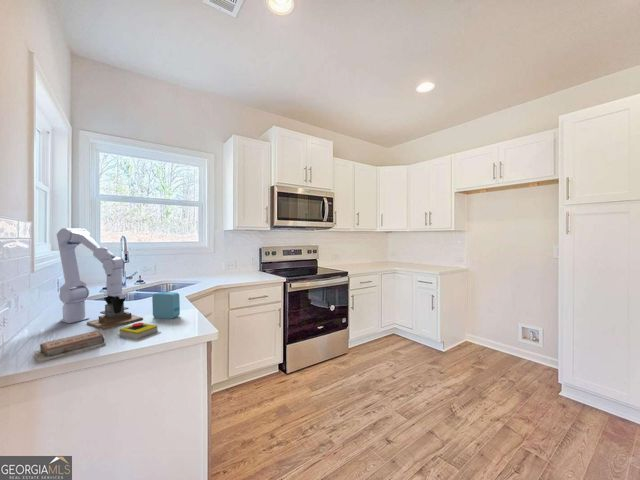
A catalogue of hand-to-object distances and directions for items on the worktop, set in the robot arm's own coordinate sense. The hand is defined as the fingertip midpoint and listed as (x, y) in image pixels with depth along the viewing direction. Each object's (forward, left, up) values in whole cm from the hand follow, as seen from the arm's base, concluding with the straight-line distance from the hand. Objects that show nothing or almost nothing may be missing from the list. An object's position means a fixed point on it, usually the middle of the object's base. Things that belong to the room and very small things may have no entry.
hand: (115, 312), depth 130 cm
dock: (0, 0, -5) cm, 5 cm away
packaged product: (+21, -23, -5) cm, 32 cm away
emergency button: (+26, -3, -5) cm, 27 cm away
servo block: (0, 0, -2) cm, 2 cm away
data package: (+14, +16, -5) cm, 22 cm away
